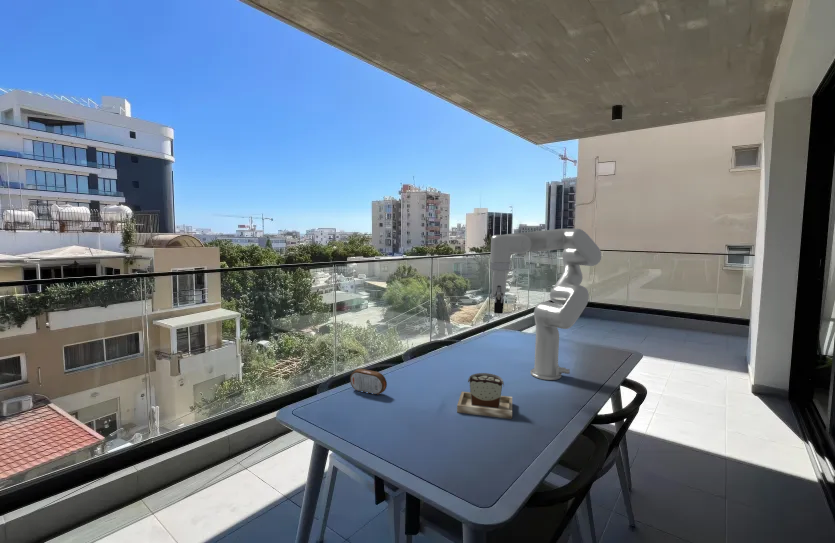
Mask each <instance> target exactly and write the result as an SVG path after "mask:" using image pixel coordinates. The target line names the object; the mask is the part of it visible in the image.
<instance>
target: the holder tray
mask: <svg viewBox="0 0 835 543" xmlns="http://www.w3.org/2000/svg"><path fill="white" fill-rule="evenodd" d="M456 406H457V407H456V413H459V414H468V415H475V416H476V415H477V416H485V417H493V418H500V419H509V420H510V419H511V420H512V419H513V396H508V395H501V398H500V405H499V409H497V408H488V407H480V406H473V405H471V393H470V392H469V391H461V393H460V395H459V399H458V401H457V405H456Z"/></svg>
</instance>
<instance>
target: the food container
mask: <svg viewBox="0 0 835 543" xmlns="http://www.w3.org/2000/svg"><path fill="white" fill-rule="evenodd" d="M467 383H469V390H470V393H471V405H473V406H480V407H488V408H497V409H499V405H500V398H501V396H502V390H503V387H505V384H504V383H505V382H504V380H503V378H502V377H501V376H499V375H496V374H493V373H489V372H479V373H473V374H471V375H469V378H468V380H467Z"/></svg>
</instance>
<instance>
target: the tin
mask: <svg viewBox="0 0 835 543" xmlns="http://www.w3.org/2000/svg"><path fill="white" fill-rule="evenodd" d="M349 382H350V385H351V387H352V388H353V389H354V390H355V391H357V390H358V391H357V392H359V391H363V392H362V393H364V392H368V393H367V394H369V393H373V394H377V395H376V396H378V395H381V394H382V393H384V392H385V391H386V389H387V386H388V383H387V380H386V377H385V375H383V373H381V372H379V371H376V370H375V371H374V370H370V369H365V368H357V369H355V370H354V371H353V372H351V374H350V376H349ZM373 394H372V395H373Z"/></svg>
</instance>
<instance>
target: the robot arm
mask: <svg viewBox="0 0 835 543" xmlns="http://www.w3.org/2000/svg"><path fill="white" fill-rule="evenodd" d="M555 250H556V251H557V250H563V251H562V256H561V257H562V263H563V271H562V274H561V275H560V277H559V278H558V279H557V282H556V283H555V284H554V285H553V287H552V289H551V290H550V293H549V299H550V300H551V301H552V302H551V301H541V302H538V303H537V304H536V305H535V307H534V310H533V316H534V323H535V348H534V367H533V368H532V369H530V375H531V376H532V377H534V378H537V379H540V380H545V381H555V380H559V379H561V378H562V374H567V375H570V373H571V372H570V368H566V367H560V366H559V350H560V349H559V348H560V332H559V329H562V330H568V329H570V328H572V327H573V326H574V325H575V323H576V322H577V321H578V319H579V318H580V316H581V315H582V313H583V312H584V310H585V308H586V307H587V305H588V302H589V299H590V293H589V290H588V289H587V288H586V287H585V286H584V285H581V284H582V281H583V272H582V270H581V267H580V266H584V267H585V266H587V267H594V266H596V265H599V263H600V262H601V260H602V251H601V249H600V247H599V245H598V244H596V242H595V241H594V240H593V239H592V238H591V236H590V235H589V234H588V233H587V232H586V231H584V230H583V229H581V228H557V229H547V230H545V229H544V230H535V231H529V232H517V233H507V234H506V233H505V234H494V235H492V236H491V239H490V268H489V269H490V270H489V271H492V277H491V280H492V281H491V297H494V296H495V298H494V305H493V307H494V308H493V310H494V312H493V313H494V314H503V313H504V297H505V295H506V290H507V280H508V279H507V278H508V277H507V276H508V272H510V271H511V259H512V258H511V256H512V255H511V254H516V255H517V254H518V255H523V254H526V253H528V252H548V251H555Z"/></svg>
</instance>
